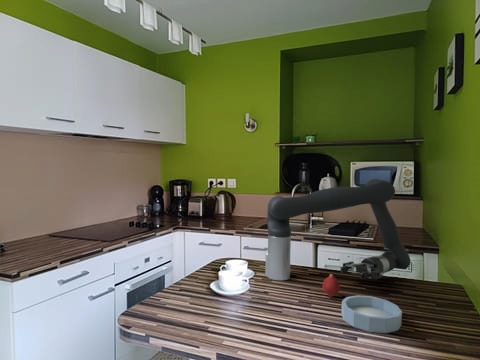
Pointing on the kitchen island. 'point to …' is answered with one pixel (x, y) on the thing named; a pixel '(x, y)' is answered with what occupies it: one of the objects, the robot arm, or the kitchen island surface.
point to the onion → (331, 286)
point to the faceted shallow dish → (371, 314)
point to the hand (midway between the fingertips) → (351, 273)
